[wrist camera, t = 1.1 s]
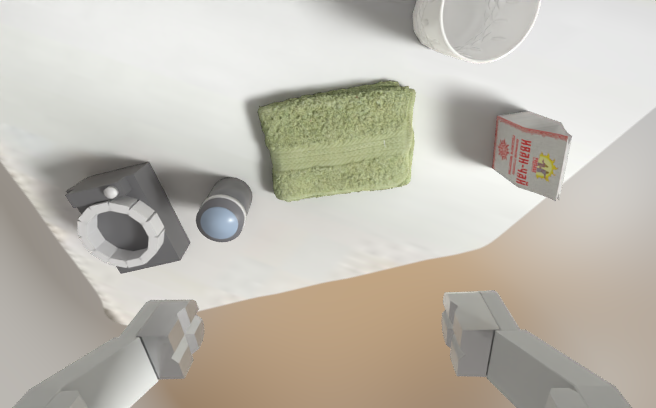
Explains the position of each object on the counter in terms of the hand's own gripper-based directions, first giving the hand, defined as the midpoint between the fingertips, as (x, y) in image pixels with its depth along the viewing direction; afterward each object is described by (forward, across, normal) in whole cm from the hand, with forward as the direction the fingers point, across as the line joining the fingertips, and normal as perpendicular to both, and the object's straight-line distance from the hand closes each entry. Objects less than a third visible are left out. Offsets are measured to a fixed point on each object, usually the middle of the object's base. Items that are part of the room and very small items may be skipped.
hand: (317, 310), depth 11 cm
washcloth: (+32, 0, +3) cm, 32 cm away
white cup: (+32, -12, -10) cm, 36 cm away
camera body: (+29, +26, +10) cm, 40 cm away
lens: (+30, +14, +8) cm, 34 cm away
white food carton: (+34, -21, +5) cm, 40 cm away
